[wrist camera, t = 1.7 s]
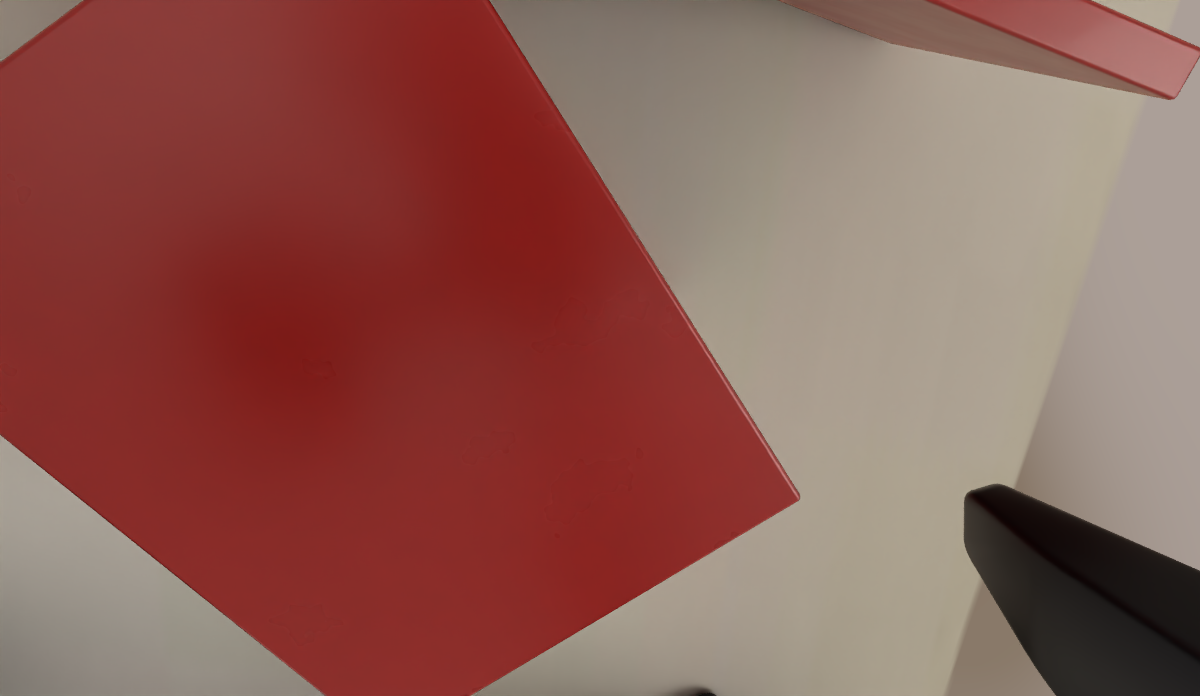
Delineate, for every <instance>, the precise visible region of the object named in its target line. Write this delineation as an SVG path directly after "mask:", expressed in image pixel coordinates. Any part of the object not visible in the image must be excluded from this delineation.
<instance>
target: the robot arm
mask: <svg viewBox="0 0 1200 696" xmlns="http://www.w3.org/2000/svg"><path fill="white" fill-rule="evenodd" d="M964 543H965V547H966V550H967V553H968V555H969V557H970V559H971V561H972V563H973V564H974V566H975V568H976V569H977V571H978V573H979V574H980V576H981V578H982V579H983V581H984V583H985V585H986V586H987V588H988V590H989V591H990V593H991V595H992V596H993V598H994V600H995V601H996V603H997V605H998V606H999V608H1000V610H1001V611H1002V613H1003V615H1004V616H1005V618H1006V620H1007V621H1008V623H1009V625H1010V627H1011V628H1012V630H1013V631H1014V633H1015V635H1016V637H1017V638H1018V640H1019V642H1020V643H1021V645H1022V647H1023V648H1024V650H1025V651H1026V653H1027V655H1028V656H1029V658H1030V659H1031V661H1032V662H1033V664H1034V666H1035V667H1036V669H1037V670H1038V671H1039V673H1040V674H1041V676H1042V677H1043V679H1044V680H1045V681H1046V683H1047V684H1048V686H1049V687H1050V688H1051V689H1052V691H1053V692H1054V693H1055V695H1056V696H1200V571H1199V570H1197V569H1195V568H1192V567H1190V566H1187V565H1185V564H1183V563H1181V562H1179V561H1176V560H1174V559H1172V558H1169V557H1167V556H1165V555H1163V554H1160V553H1158V552H1156V551H1153V550H1151V549H1149V548H1147V547H1144V546H1142V545H1140V544H1137V543H1135V542H1133V541H1130V540H1128V539H1126V538H1124V537H1122V536H1119V535H1117V534H1115V533H1112V532H1110V531H1108V530H1106V529H1103V528H1101V527H1099V526H1096V525H1094V524H1092V523H1090V522H1087V521H1085V520H1083V519H1080V518H1078V517H1076V516H1074V515H1071V514H1069V513H1067V512H1065V511H1062V510H1060V509H1058V508H1055V507H1053V506H1051V505H1048V504H1046V503H1044V502H1042V501H1039V500H1037V499H1035V498H1033V497H1030V496H1028V495H1026V494H1023V493H1021V492H1019V491H1016V490H1014V489H1012V488H1010V487H1008V486H1005V485H1002V484H992V485H988V486H985V487H981V488H978V489H975V490H971V491H970V492H968V493H967V494H966V496H965V500H964ZM699 696H716V695H715V694H712V693H704V694H702V695H699Z"/></svg>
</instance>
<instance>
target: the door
mask: <svg viewBox="0 0 1200 696" xmlns="http://www.w3.org/2000/svg"><path fill="white" fill-rule="evenodd" d="M778 1H781V2H784V3H786V4H789V5H791V6H794V7H797V8H799V9H802V10H805V11H807V12H810V13H812V14H815V15H818V16H820V17H823V18H826V19H828V20H831V21H833V22H836V23H839V24H841V25H844V26H846V27H849V28H852V29H854V30H857V31H860V32H862V33H865V34H867V35H870V36H873V37H875V38H878V39H881V40H883V41H886V42H888V43H891V44H896V45H901V46H906V47H911V48H916V49H921V50H926V51H931V52H936V53H940V54H945V55H950V56H955V57H960V58H965V59H970V60H975V61H980V62H985V63H990V64H995V65H1000V66H1004V67H1009V68H1014V69H1019V70H1024V71H1029V72H1034V73H1039V74H1044V75H1049V76H1054V77H1059V78H1064V79H1068V80H1073V81H1078V82H1083V83H1088V84H1093V85H1098V86H1103V87H1108V88H1113V89H1118V90H1123V91H1128V92H1132V93H1137V94H1142V95H1147V96H1152V97H1157V98H1162V99H1167V100H1171V99H1175V98H1176V97H1177V95H1178V94H1179V92H1180V90H1181V88H1182V87H1183V85H1184V83H1185V82H1186V80H1187V78H1188V76H1189V75H1190V73H1191V71H1192V69H1193V68H1194V66H1195V64H1196V62H1197V61H1198V59H1199V57H1200V48H1199V47H1197V46H1195V45H1193V44H1191V43H1188V42H1186V41H1184V40H1181V39H1179V38H1177V37H1175V36H1172V35H1170V34H1168V33H1165V32H1163V31H1161V30H1158V29H1156V28H1154V27H1152V26H1149V25H1147V24H1145V23H1142V22H1140V21H1138V20H1136V19H1133V18H1131V17H1129V16H1126V15H1124V14H1122V13H1119V12H1117V11H1115V10H1113V9H1110V8H1108V7H1106V6H1103V5H1101V4H1099V3H1096V2H1094V1H1092V0H778Z"/></svg>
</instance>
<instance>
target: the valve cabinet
mask: <svg viewBox="0 0 1200 696" xmlns="http://www.w3.org/2000/svg"><path fill="white" fill-rule="evenodd" d="M0 435H1V436H2V437H4V438H5V439H6V440H7V441H9V442H10V443H11V444H12V445H14V446H15V447H16V448H17V449H19V450H20V451H21V452H22V453H24V454H25V455H26V456H27V457H28V458H30V459H31V460H32V461H33V462H35V463H36V464H37V465H38V466H40V467H41V468H42V469H43V470H45V471H46V472H47V473H48V474H50V475H51V476H52V477H53V478H55V479H56V480H57V481H58V482H60V483H61V484H62V485H63V486H65V487H66V488H67V489H68V490H70V491H71V492H72V493H73V494H75V495H76V496H77V497H78V498H80V499H81V500H82V501H83V502H85V503H86V504H87V505H88V506H90V507H91V508H92V509H93V510H95V511H96V512H97V513H98V514H99V515H101V516H102V517H103V518H104V519H106V520H107V521H108V522H109V523H111V524H112V525H113V526H114V527H116V528H117V529H118V530H119V531H121V532H122V533H123V534H124V535H126V536H127V537H128V538H129V539H131V540H132V541H133V542H134V543H136V544H137V545H138V546H139V547H141V548H142V549H143V550H144V551H146V552H147V553H148V554H149V555H151V556H152V557H153V558H154V559H156V560H157V561H158V562H159V563H161V564H162V565H163V566H164V567H165V568H167V569H168V570H169V571H170V572H172V573H173V574H174V575H175V576H177V577H178V578H179V579H180V580H182V581H183V582H184V583H185V584H187V585H188V586H189V587H190V588H192V589H193V590H194V591H195V592H197V593H198V594H199V595H200V596H202V597H203V598H204V599H205V600H207V601H208V602H209V603H210V604H212V605H213V606H214V607H215V608H217V609H218V610H219V611H220V612H222V613H223V614H224V615H225V616H227V617H228V618H229V619H230V620H232V621H233V622H234V623H235V624H236V625H238V626H239V627H240V628H241V629H243V630H244V631H245V632H246V633H248V634H249V635H250V636H251V637H253V638H254V639H255V640H256V641H258V642H259V643H260V644H261V645H263V646H264V647H265V648H266V649H268V650H269V651H270V652H271V653H273V654H274V655H275V656H276V657H278V658H279V659H280V660H281V661H283V662H284V663H285V664H286V665H288V666H289V667H290V668H291V669H293V670H294V671H295V672H296V673H298V674H299V675H300V676H301V677H302V678H304V679H305V680H306V681H307V682H309V683H310V684H311V685H312V686H314V687H315V688H316V689H317V690H319V691H320V692H321V693H322V694H324V695H325V696H471V695H472V694H474V693H476V692H478V691H479V690H481V689H483V688H484V687H486V686H488V685H489V684H491V683H493V682H494V681H496V680H498V679H499V678H501V677H503V676H504V675H506V674H508V673H509V672H511V671H513V670H515V669H516V668H518V667H520V666H521V665H523V664H525V663H526V662H528V661H530V660H531V659H533V658H535V657H536V656H538V655H540V654H541V653H543V652H545V651H546V650H548V649H550V648H552V647H553V646H555V645H557V644H558V643H560V642H562V641H563V640H565V639H567V638H568V637H570V636H572V635H573V634H575V633H577V632H578V631H580V630H582V629H583V628H585V627H587V626H589V625H590V624H592V623H594V622H595V621H597V620H599V619H600V618H602V617H604V616H605V615H607V614H609V613H610V612H612V611H614V610H615V609H617V608H619V607H620V606H622V605H624V604H626V603H627V602H629V601H631V600H632V599H634V598H636V597H637V596H639V595H641V594H642V593H644V592H646V591H647V590H649V589H651V588H652V587H654V586H656V585H657V584H659V583H661V582H663V581H664V580H666V579H668V578H669V577H671V576H673V575H674V574H676V573H678V572H679V571H681V570H683V569H684V568H686V567H688V566H689V565H691V564H693V563H694V562H696V561H698V560H700V559H701V558H703V557H705V556H706V555H708V554H710V553H711V552H713V551H715V550H716V549H718V548H720V547H721V546H723V545H725V544H726V543H728V542H730V541H731V540H733V539H735V538H737V537H738V536H740V535H742V534H743V533H745V532H747V531H748V530H750V529H752V528H753V527H755V526H757V525H758V524H760V523H762V522H763V521H765V520H767V519H768V518H770V517H772V516H774V515H775V514H777V513H779V512H780V511H782V510H784V509H785V508H787V507H789V506H790V505H792V504H794V503H795V502H797V501H799V499H800V494H799V492H798V491H797V489H796V488H795V486H794V484H793V483H792V481H791V480H790V478H789V476H788V475H787V473H786V472H785V470H784V469H783V467H782V465H781V464H780V462H779V461H778V459H777V457H776V456H775V454H774V453H773V451H772V449H771V448H770V446H769V445H768V443H767V441H766V440H765V438H764V437H763V435H762V433H761V432H760V430H759V429H758V427H757V426H756V424H755V422H754V421H753V419H752V418H751V416H750V414H749V413H748V411H747V410H746V408H745V406H744V405H743V403H742V402H741V400H740V398H739V397H738V395H737V394H736V392H735V391H734V389H733V387H732V386H731V384H730V383H729V381H728V379H727V378H726V376H725V375H724V373H723V371H722V370H721V368H720V367H719V365H718V363H717V362H716V360H715V359H714V357H713V356H712V354H711V352H710V351H709V349H708V348H707V346H706V344H705V343H704V341H703V340H702V338H701V336H700V335H699V333H698V332H697V330H696V328H695V327H694V325H693V324H692V322H691V320H690V319H689V317H688V316H687V314H686V313H685V311H684V309H683V308H682V306H681V305H680V303H679V301H678V300H677V298H676V297H675V295H674V293H673V292H672V290H671V289H670V287H669V285H668V284H667V282H666V281H665V279H664V278H663V276H662V274H661V273H660V271H659V270H658V268H657V266H656V265H655V263H654V262H653V260H652V258H651V257H650V255H649V254H648V252H647V250H646V249H645V247H644V246H643V244H642V243H641V241H640V239H639V238H638V236H637V235H636V233H635V231H634V230H633V228H632V227H631V225H630V223H629V222H628V220H627V219H626V217H625V215H624V214H623V212H622V211H621V209H620V208H619V206H618V204H617V203H616V201H615V200H614V198H613V196H612V195H611V193H610V192H609V190H608V188H607V187H606V185H605V184H604V182H603V180H602V179H601V177H600V176H599V174H598V172H597V171H596V169H595V168H594V166H593V165H592V163H591V161H590V160H589V158H588V157H587V155H586V153H585V152H584V150H583V149H582V147H581V145H580V144H579V142H578V141H577V139H576V137H575V136H574V134H573V133H572V131H571V130H570V128H569V126H568V125H567V123H566V122H565V120H564V118H563V117H562V115H561V114H560V112H559V110H558V109H557V107H556V106H555V104H554V102H553V101H552V99H551V98H550V96H549V95H548V93H547V91H546V90H545V88H544V87H543V85H542V83H541V82H540V80H539V79H538V77H537V75H536V74H535V72H534V71H533V69H532V67H531V66H530V64H529V63H528V61H527V59H526V58H525V56H524V55H523V53H522V52H521V50H520V48H519V47H518V45H517V44H516V42H515V40H514V39H513V37H512V36H511V34H510V32H509V31H508V29H507V28H506V26H505V24H504V23H503V21H502V20H501V18H500V17H499V15H498V13H497V12H496V10H495V9H494V7H493V5H492V4H491V2H490V1H489V0H83V1H82V2H80V3H79V4H78V5H76V6H75V7H74V8H72V9H71V10H70V11H68V12H67V13H66V14H64V15H63V16H62V17H60V18H59V19H57V20H56V21H55V22H53V23H52V24H51V25H49V26H48V27H47V28H45V29H44V30H43V31H41V32H40V33H39V34H37V35H36V36H35V37H33V38H32V39H31V40H29V41H28V42H27V43H25V44H24V45H23V46H21V47H20V48H19V49H17V50H16V51H15V52H13V53H12V54H10V55H9V56H8V57H6V58H5V59H4V60H2V61H1V62H0Z"/></svg>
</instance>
